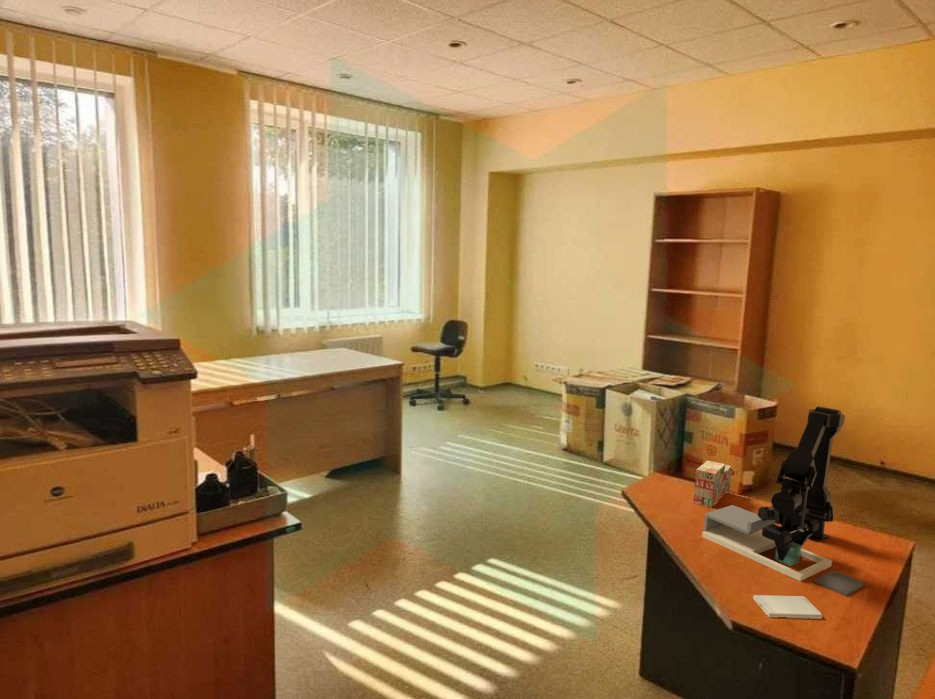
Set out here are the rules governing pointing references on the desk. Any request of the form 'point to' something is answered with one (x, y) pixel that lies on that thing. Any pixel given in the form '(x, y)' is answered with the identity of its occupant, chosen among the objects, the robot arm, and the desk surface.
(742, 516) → the cover
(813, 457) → the robot arm
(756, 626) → the desk surface
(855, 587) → the mat
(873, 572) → the desk surface
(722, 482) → the stack of blocks
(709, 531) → the white flat frame
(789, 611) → the hard drive
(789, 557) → the block
